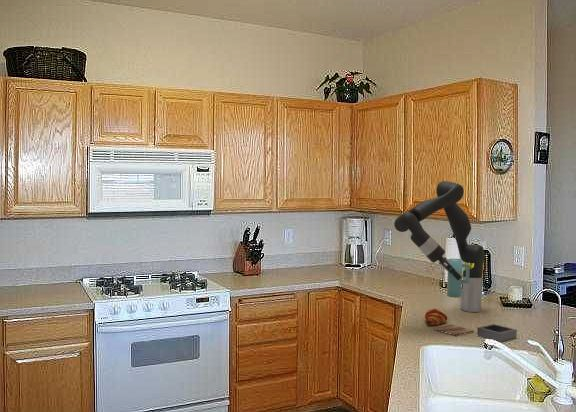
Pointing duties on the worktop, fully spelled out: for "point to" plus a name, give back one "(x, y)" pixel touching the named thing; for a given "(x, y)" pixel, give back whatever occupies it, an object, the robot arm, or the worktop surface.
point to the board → (454, 329)
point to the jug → (454, 284)
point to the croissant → (435, 317)
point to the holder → (497, 332)
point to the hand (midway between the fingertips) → (458, 277)
